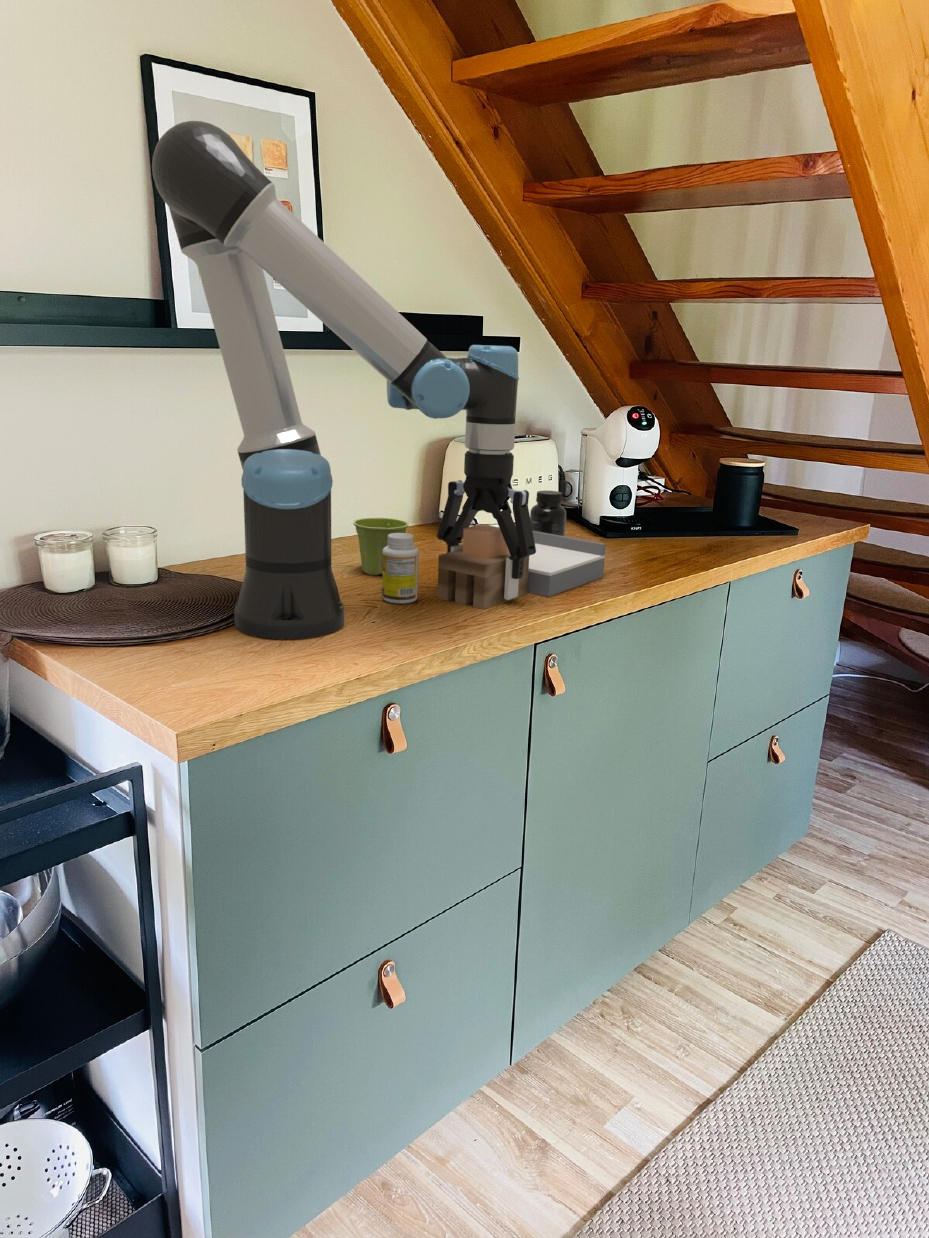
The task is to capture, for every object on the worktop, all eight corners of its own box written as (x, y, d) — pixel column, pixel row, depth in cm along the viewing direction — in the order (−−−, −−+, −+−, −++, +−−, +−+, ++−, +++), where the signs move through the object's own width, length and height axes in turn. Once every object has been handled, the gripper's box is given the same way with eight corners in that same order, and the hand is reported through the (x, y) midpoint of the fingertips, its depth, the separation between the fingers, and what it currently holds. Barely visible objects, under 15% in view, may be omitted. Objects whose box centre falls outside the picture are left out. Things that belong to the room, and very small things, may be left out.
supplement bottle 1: (392, 593, 146) (393, 530, 143) (423, 598, 144) (425, 534, 141) (375, 601, 141) (375, 536, 138) (407, 606, 139) (408, 540, 136)
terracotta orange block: (488, 559, 141) (489, 533, 140) (462, 553, 144) (463, 528, 142) (506, 554, 145) (508, 529, 143) (481, 548, 147) (482, 524, 146)
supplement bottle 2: (521, 551, 178) (524, 490, 174) (550, 549, 181) (554, 488, 177) (540, 559, 172) (544, 496, 169) (570, 556, 175) (574, 494, 172)
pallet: (483, 609, 139) (485, 565, 137) (437, 598, 144) (438, 555, 142) (526, 594, 148) (529, 552, 146) (482, 584, 153) (484, 543, 151)
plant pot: (374, 562, 165) (374, 515, 162) (418, 570, 160) (419, 522, 158) (342, 572, 157) (342, 522, 154) (386, 581, 152) (387, 530, 150)
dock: (548, 597, 147) (551, 560, 145) (469, 579, 156) (470, 544, 154) (603, 577, 161) (605, 543, 159) (527, 561, 170) (529, 530, 168)
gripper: (566, 456, 136) (555, 600, 142) (446, 442, 149) (442, 574, 155) (538, 460, 130) (529, 610, 137) (416, 445, 143) (413, 582, 149)
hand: (483, 591), depth 146 cm, fingers open, 10 cm apart
